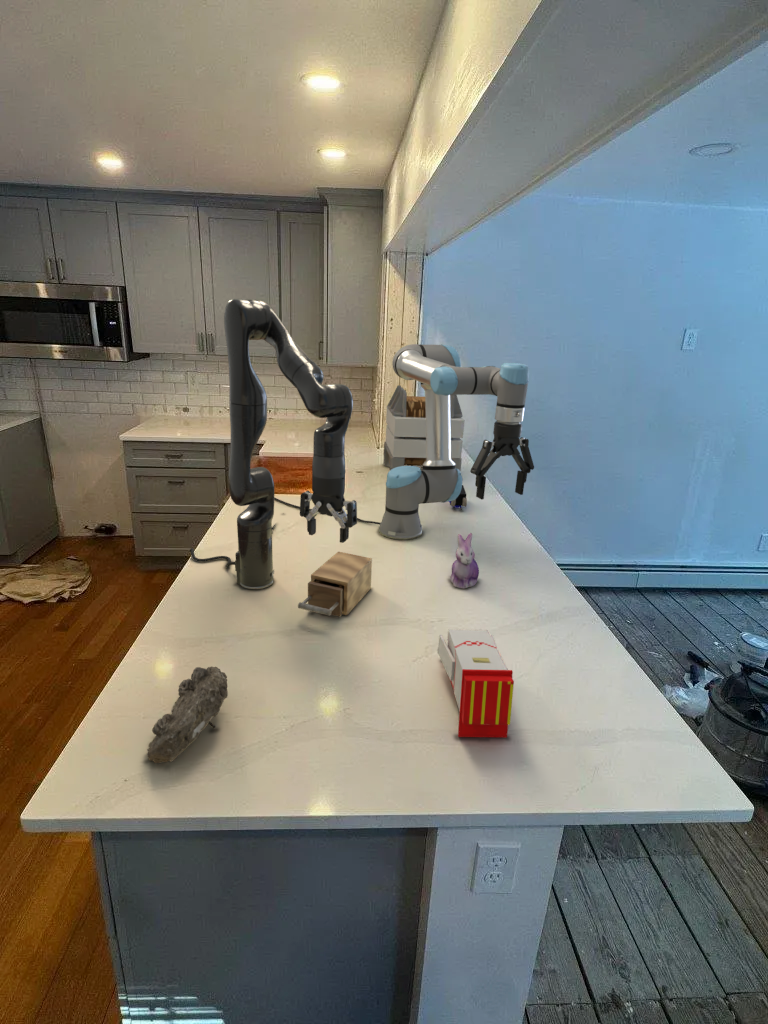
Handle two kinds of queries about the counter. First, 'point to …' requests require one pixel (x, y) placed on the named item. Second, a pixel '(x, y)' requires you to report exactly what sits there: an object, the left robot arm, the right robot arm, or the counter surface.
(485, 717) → the toy
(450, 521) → the counter surface
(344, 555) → the cabinet
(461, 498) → the figurine character
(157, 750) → the fossil
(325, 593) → the drawer
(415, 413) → the grey slatted crate
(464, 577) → the figurine
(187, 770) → the counter surface
